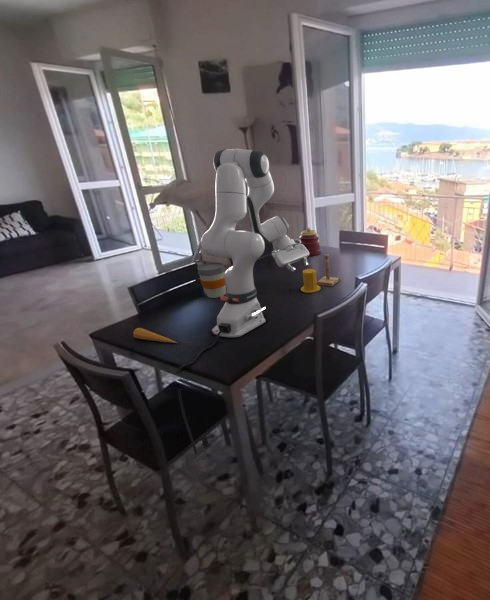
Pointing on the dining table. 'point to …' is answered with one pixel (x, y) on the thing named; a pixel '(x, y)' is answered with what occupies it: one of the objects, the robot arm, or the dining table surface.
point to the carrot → (150, 336)
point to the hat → (310, 281)
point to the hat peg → (327, 275)
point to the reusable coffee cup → (213, 279)
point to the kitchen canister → (310, 241)
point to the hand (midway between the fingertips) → (300, 268)
